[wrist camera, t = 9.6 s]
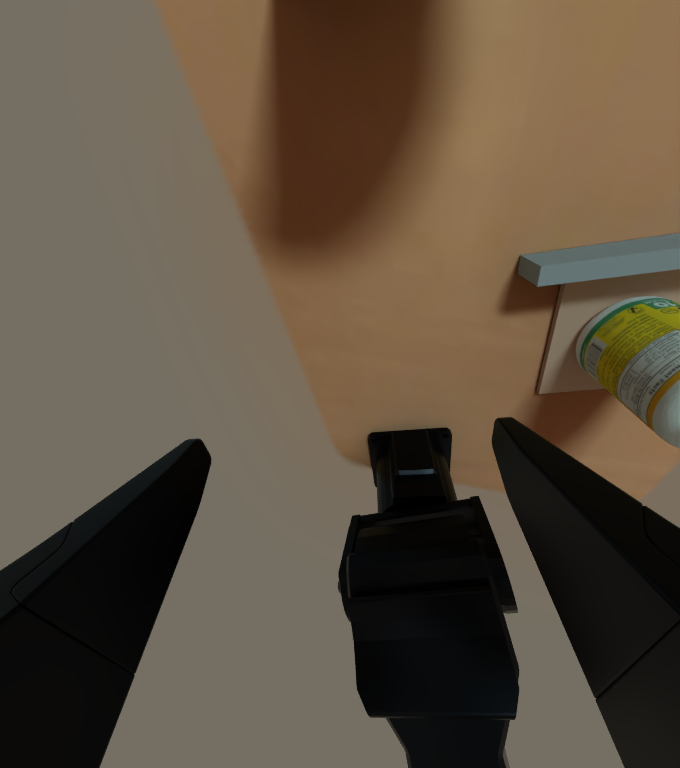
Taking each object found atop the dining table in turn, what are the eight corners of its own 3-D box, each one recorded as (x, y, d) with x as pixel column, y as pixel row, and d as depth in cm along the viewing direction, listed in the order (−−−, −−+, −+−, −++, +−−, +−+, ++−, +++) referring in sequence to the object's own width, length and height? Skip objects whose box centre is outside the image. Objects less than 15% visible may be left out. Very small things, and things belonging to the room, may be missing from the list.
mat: (664, 380, 21) (669, 384, 21) (536, 390, 22) (538, 394, 22) (727, 255, 16) (734, 257, 16) (562, 276, 18) (566, 278, 17)
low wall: (789, 238, 16) (852, 247, 14) (517, 273, 18) (537, 286, 16) (802, 215, 15) (870, 222, 13) (520, 255, 17) (541, 266, 15)
